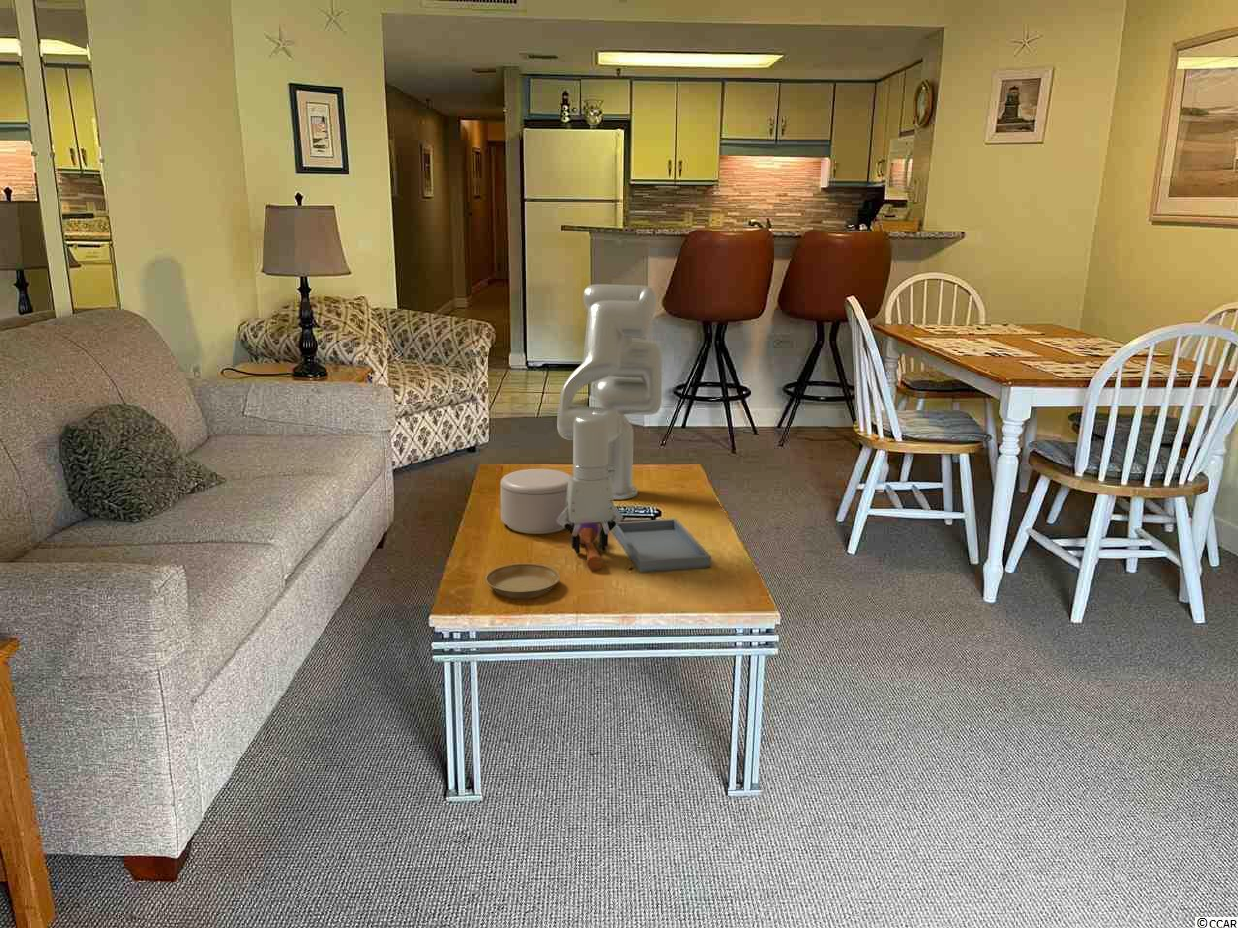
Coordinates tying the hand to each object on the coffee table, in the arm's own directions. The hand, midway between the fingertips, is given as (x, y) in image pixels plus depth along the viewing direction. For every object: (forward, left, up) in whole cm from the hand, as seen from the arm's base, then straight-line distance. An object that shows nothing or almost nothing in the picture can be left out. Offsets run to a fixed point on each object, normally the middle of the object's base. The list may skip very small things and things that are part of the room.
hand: (589, 549), depth 205 cm
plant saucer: (+16, -17, -2) cm, 24 cm away
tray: (0, +16, -1) cm, 16 cm away
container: (-23, -8, -1) cm, 24 cm away
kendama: (0, 0, -1) cm, 1 cm away
